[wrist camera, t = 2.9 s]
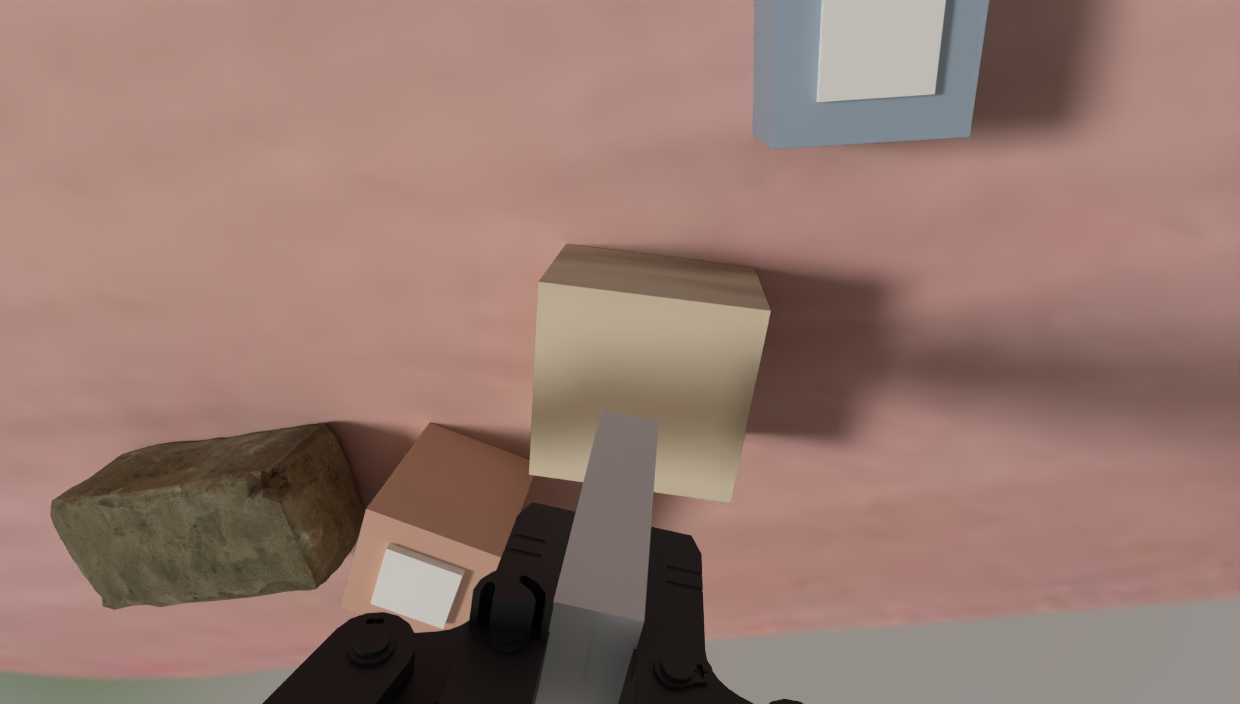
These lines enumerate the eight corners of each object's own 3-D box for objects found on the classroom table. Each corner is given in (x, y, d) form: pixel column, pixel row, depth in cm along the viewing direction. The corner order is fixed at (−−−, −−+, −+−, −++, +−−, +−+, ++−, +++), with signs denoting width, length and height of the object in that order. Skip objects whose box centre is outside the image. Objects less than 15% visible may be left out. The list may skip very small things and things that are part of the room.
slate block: (754, -37, 19) (779, -76, 14) (924, -53, 19) (1008, -99, 14) (752, 134, 21) (773, 150, 16) (906, 124, 21) (974, 138, 16)
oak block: (566, 243, 23) (538, 281, 19) (753, 265, 23) (771, 310, 19) (555, 406, 26) (528, 474, 22) (722, 428, 26) (730, 502, 21)
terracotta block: (430, 422, 27) (362, 514, 21) (538, 462, 27) (501, 564, 22) (404, 508, 29) (336, 614, 23) (506, 545, 29) (463, 658, 24)
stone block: (386, 517, 29) (330, 597, 25) (178, 543, 32) (92, 622, 27) (339, 410, 27) (269, 476, 23) (119, 445, 29) (15, 512, 25)
